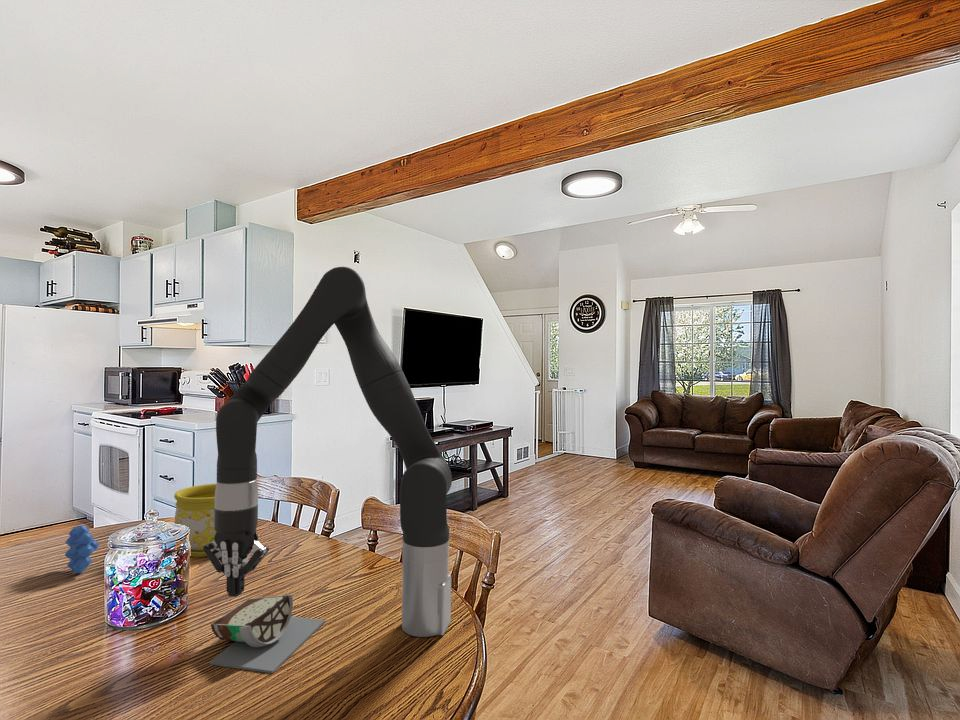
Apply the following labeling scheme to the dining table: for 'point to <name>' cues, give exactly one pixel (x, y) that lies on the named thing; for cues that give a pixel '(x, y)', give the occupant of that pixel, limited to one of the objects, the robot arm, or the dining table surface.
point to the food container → (256, 621)
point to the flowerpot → (197, 515)
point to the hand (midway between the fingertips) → (235, 594)
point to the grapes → (80, 548)
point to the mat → (269, 648)
